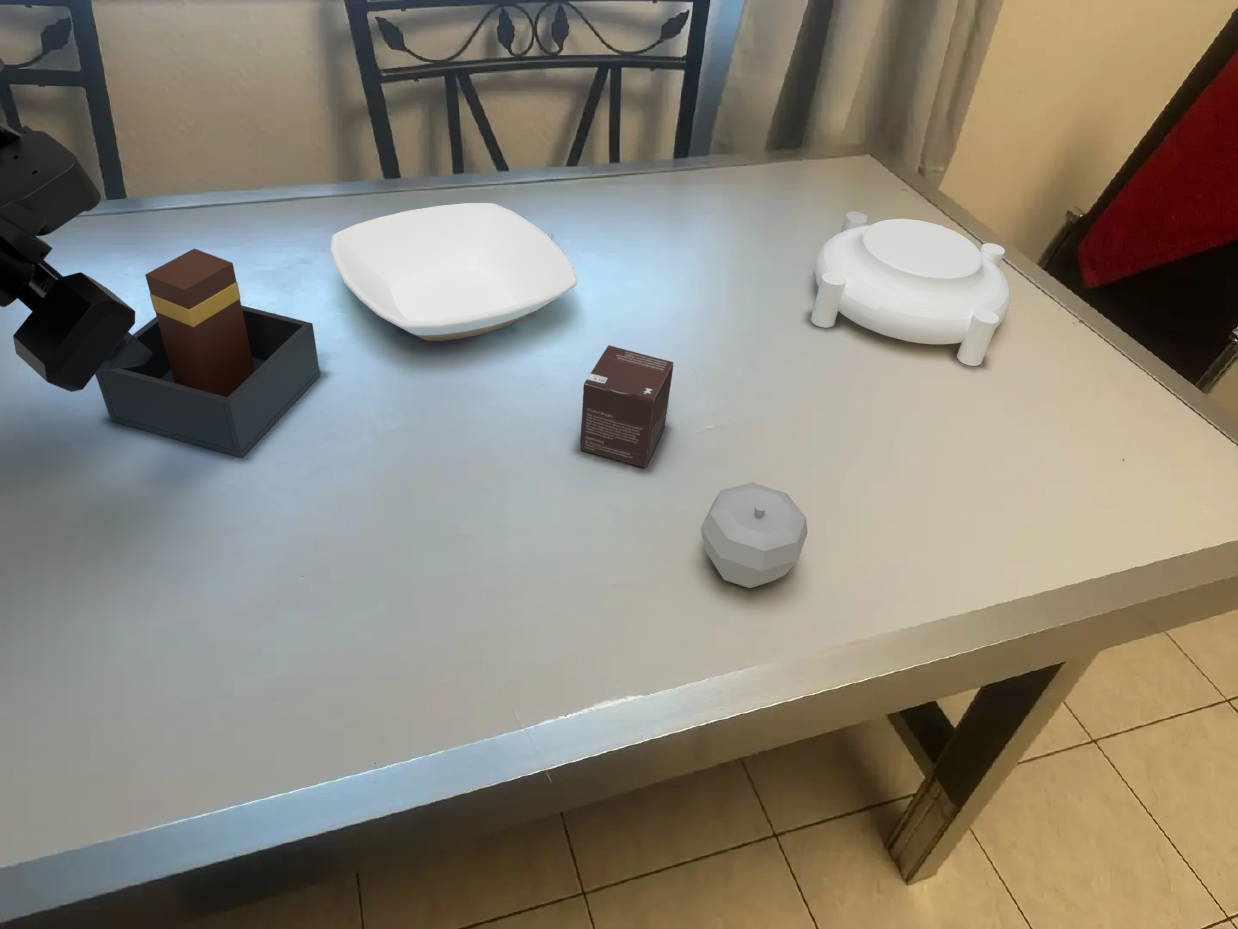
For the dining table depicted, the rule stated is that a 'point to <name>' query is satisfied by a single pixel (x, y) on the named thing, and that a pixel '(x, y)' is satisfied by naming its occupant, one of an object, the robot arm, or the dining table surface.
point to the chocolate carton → (202, 322)
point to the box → (625, 405)
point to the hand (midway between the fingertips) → (108, 325)
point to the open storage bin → (211, 418)
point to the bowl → (451, 268)
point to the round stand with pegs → (912, 284)
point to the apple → (753, 534)
